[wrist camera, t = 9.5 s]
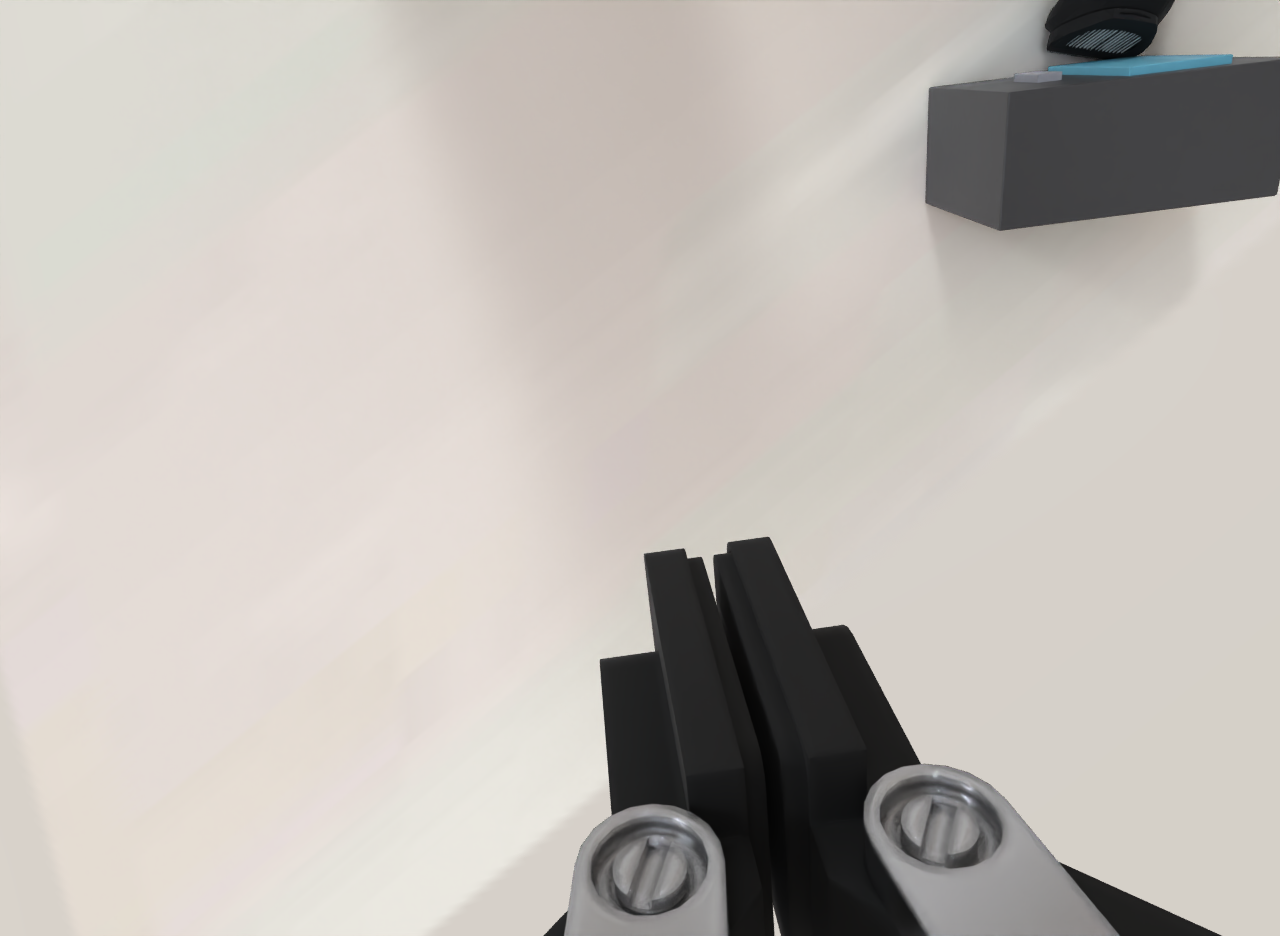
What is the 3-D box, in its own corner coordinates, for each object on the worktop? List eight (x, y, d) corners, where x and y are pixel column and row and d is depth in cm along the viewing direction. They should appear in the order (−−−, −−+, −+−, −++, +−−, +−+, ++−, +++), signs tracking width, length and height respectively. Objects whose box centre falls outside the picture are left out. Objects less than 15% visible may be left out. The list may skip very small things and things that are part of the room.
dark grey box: (1009, 83, 25) (1307, 46, 26) (928, 80, 31) (1175, 49, 31) (999, 231, 27) (1277, 195, 27) (924, 203, 33) (1158, 174, 33)
